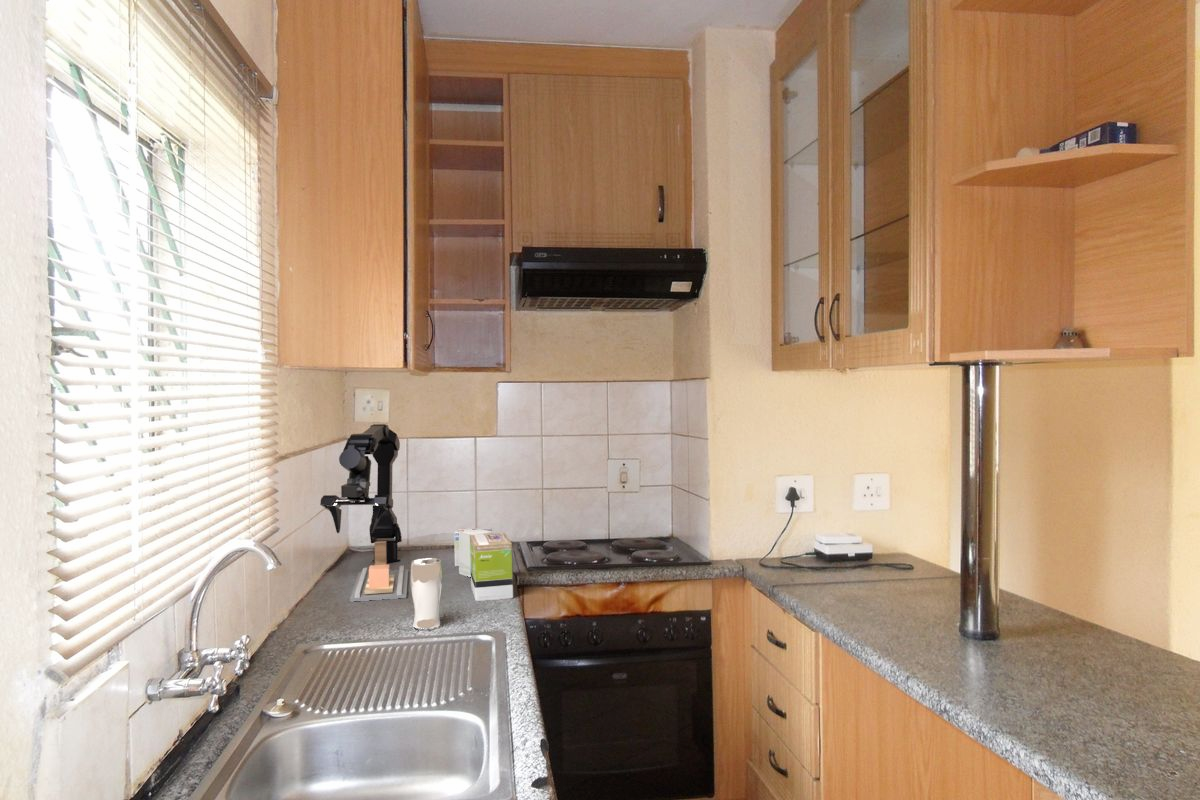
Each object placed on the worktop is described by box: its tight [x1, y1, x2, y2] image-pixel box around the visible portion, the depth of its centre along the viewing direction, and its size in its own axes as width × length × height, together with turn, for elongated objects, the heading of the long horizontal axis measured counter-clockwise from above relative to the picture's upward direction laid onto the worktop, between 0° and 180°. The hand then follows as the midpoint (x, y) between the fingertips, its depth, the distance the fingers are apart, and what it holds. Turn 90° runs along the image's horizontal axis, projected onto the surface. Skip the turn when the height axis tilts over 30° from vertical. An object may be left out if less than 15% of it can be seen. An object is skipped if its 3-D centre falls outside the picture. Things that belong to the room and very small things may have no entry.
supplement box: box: [458, 528, 493, 578], centre depth 228 cm, size 7×7×13 cm
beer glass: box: [410, 557, 443, 629], centre depth 177 cm, size 7×7×15 cm
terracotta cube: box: [368, 563, 390, 589], centre depth 206 cm, size 5×5×5 cm
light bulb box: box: [453, 528, 493, 567], centre depth 241 cm, size 11×7×11 cm, turn 84°
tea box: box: [470, 532, 514, 602], centre depth 206 cm, size 15×10×15 cm, turn 14°
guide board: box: [349, 565, 409, 603], centre depth 215 cm, size 30×14×2 cm, turn 13°
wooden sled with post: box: [365, 541, 395, 594], centre depth 210 cm, size 16×7×11 cm, turn 13°
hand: (354, 532), depth 214 cm, fingers open, 9 cm apart
